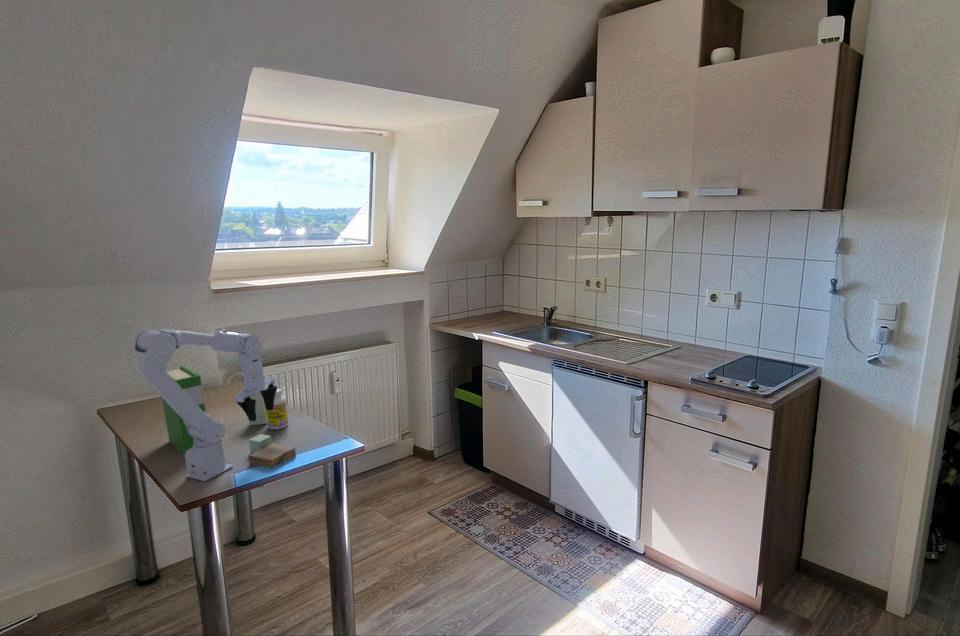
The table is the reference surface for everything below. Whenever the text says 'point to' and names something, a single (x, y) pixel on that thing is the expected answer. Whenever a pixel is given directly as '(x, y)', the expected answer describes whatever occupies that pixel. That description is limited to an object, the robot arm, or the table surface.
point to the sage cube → (259, 442)
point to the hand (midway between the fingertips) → (261, 414)
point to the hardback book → (174, 422)
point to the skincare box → (259, 410)
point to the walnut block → (272, 455)
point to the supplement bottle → (277, 412)
